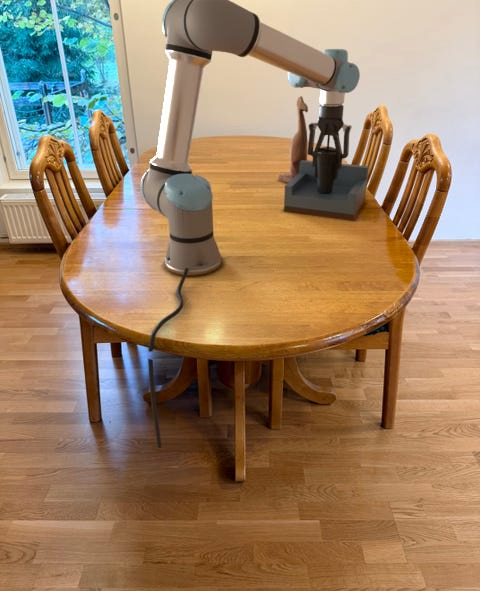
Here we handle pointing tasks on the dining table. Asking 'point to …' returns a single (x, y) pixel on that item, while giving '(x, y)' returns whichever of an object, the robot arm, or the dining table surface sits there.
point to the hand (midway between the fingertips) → (325, 177)
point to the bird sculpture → (297, 144)
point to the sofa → (335, 204)
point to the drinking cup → (326, 167)
